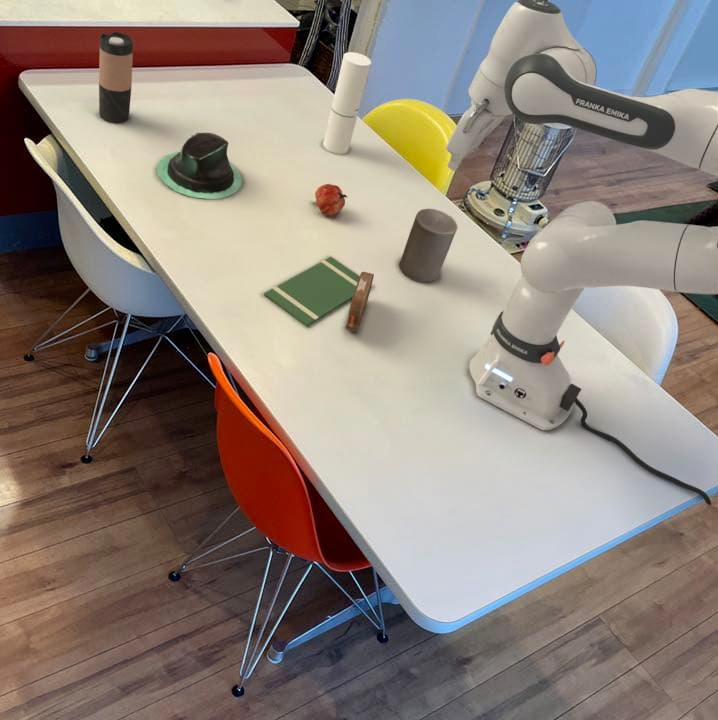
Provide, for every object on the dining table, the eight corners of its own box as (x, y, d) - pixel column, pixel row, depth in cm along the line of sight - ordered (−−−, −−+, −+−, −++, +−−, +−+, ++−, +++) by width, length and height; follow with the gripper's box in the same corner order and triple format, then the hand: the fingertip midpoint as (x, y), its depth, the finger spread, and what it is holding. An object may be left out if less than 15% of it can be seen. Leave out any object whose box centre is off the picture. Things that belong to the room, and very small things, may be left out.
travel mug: (126, 126, 195) (129, 48, 181) (94, 119, 193) (95, 40, 180) (133, 112, 200) (136, 36, 187) (102, 105, 199) (104, 28, 186)
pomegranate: (306, 220, 188) (337, 215, 182) (300, 189, 186) (331, 183, 180) (326, 214, 194) (357, 209, 187) (319, 184, 192) (350, 178, 185)
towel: (371, 286, 172) (372, 284, 171) (306, 326, 157) (307, 324, 156) (330, 258, 175) (330, 256, 175) (263, 295, 161) (264, 292, 160)
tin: (354, 340, 157) (365, 309, 152) (340, 335, 157) (349, 304, 152) (368, 297, 168) (378, 267, 163) (355, 293, 168) (364, 262, 163)
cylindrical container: (353, 148, 215) (376, 61, 198) (339, 156, 210) (361, 67, 193) (332, 137, 217) (353, 50, 200) (318, 144, 212) (338, 55, 195)
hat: (227, 207, 178) (142, 183, 178) (242, 204, 197) (165, 183, 196) (242, 141, 175) (156, 117, 175) (255, 145, 193) (177, 123, 193)
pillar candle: (390, 264, 179) (408, 210, 169) (416, 252, 186) (435, 199, 176) (421, 288, 176) (442, 233, 166) (447, 274, 182) (468, 221, 172)
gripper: (490, 120, 126) (455, 188, 135) (529, 85, 140) (494, 149, 150) (457, 100, 126) (425, 170, 136) (499, 67, 141) (467, 132, 150)
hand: (462, 158), depth 143 cm, fingers open, 8 cm apart
